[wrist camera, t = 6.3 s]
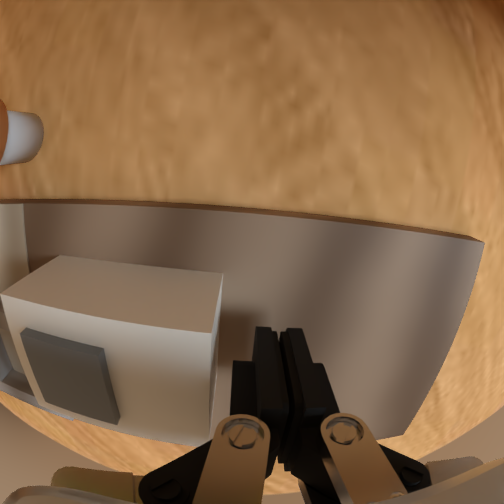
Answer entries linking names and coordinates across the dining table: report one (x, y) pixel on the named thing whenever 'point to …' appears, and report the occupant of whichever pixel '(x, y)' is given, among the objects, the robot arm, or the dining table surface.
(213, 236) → the panel
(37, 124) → the tan rounded cylinder
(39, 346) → the block
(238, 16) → the dining table surface
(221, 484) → the robot arm
